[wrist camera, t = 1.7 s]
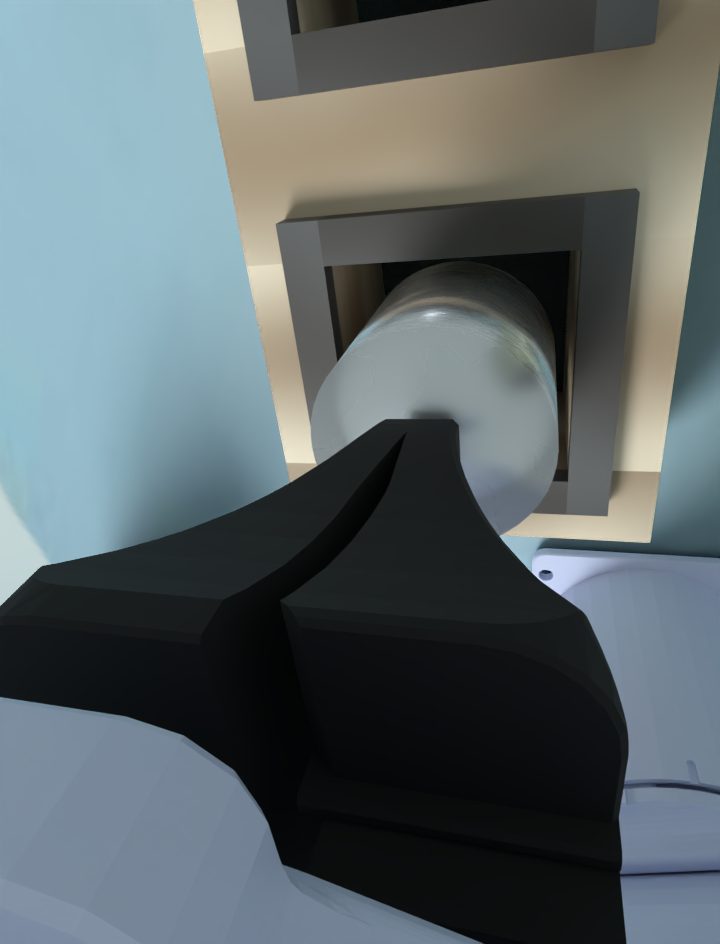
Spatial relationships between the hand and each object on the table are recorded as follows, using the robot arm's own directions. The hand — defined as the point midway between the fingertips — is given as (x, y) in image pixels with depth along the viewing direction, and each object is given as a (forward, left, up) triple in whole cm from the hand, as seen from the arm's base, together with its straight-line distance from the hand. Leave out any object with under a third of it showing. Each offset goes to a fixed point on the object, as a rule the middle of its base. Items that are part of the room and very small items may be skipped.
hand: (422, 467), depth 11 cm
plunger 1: (0, 0, -6) cm, 6 cm away
